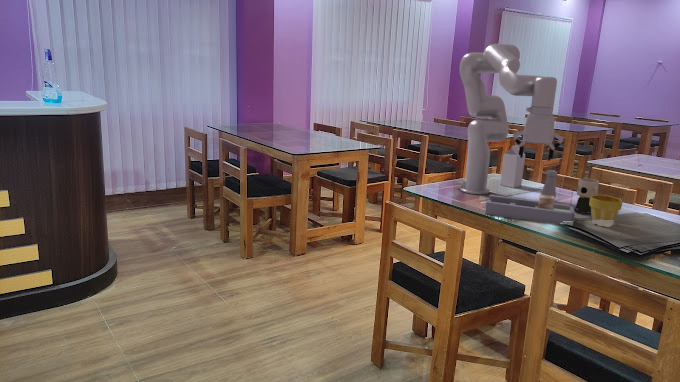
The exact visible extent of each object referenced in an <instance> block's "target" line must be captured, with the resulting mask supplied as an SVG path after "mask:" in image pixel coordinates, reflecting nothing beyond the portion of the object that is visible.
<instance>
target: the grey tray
mask: <svg viewBox="0 0 680 382" xmlns="http://www.w3.org/2000/svg"><path fill="white" fill-rule="evenodd" d="M538 203H539V200H534V199H526V198H519V197H513V196H504V195H503V196H502V195H497V194H489V196H488V201H486V205H485V212H484V214H485V215H490V216H495V217H496V216H497V217H503V218H505V217H506V218H510V219H511V218H512V219H518V220H526V221H531V222H537V223H538V222H539V223H545V224H546V223H547V224H552V225H559V224H560V223H561V222H563V221H574V222H575V208H574V206H573V205H572V204H566V203H556V202H554V206H553V210H550V209H542V208H538Z"/></svg>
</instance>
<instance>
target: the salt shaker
mask: <svg viewBox="0 0 680 382" xmlns="http://www.w3.org/2000/svg"><path fill="white" fill-rule="evenodd" d="M545 175H546V179H545V181H544V184H543V187H542V189H541V192H540V194H541V195H549V196H554V199H556V197H557V191H556V189H557V187H556V186H557V185H556V177H557V176H558V171H557V170H554V169H547V170H546V171H545Z"/></svg>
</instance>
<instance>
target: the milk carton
mask: <svg viewBox="0 0 680 382" xmlns="http://www.w3.org/2000/svg"><path fill="white" fill-rule="evenodd" d="M519 148H520V147H519V145H518V144H516V145H511V148H510V149H508V150H507V151H506V152H504V153H503V156H502V157H503V158H502V165H501V166H502V167H501V173H500V181H499V185H500V186H504V187H507V188H512V189H515V188H518V187H521V186H522V182H523V176H524V167H525V160H526V154H525V152H524V151H523V157H522V158H520V155H519Z"/></svg>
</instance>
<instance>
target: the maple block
mask: <svg viewBox="0 0 680 382" xmlns="http://www.w3.org/2000/svg"><path fill="white" fill-rule="evenodd" d="M538 196H539V198H538V201H539V203H538V208H542V209H550V210H553V206H554V203H555V199H556V198H555V199H554V196H549V195H541V193H540V194H539V195H538Z"/></svg>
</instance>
